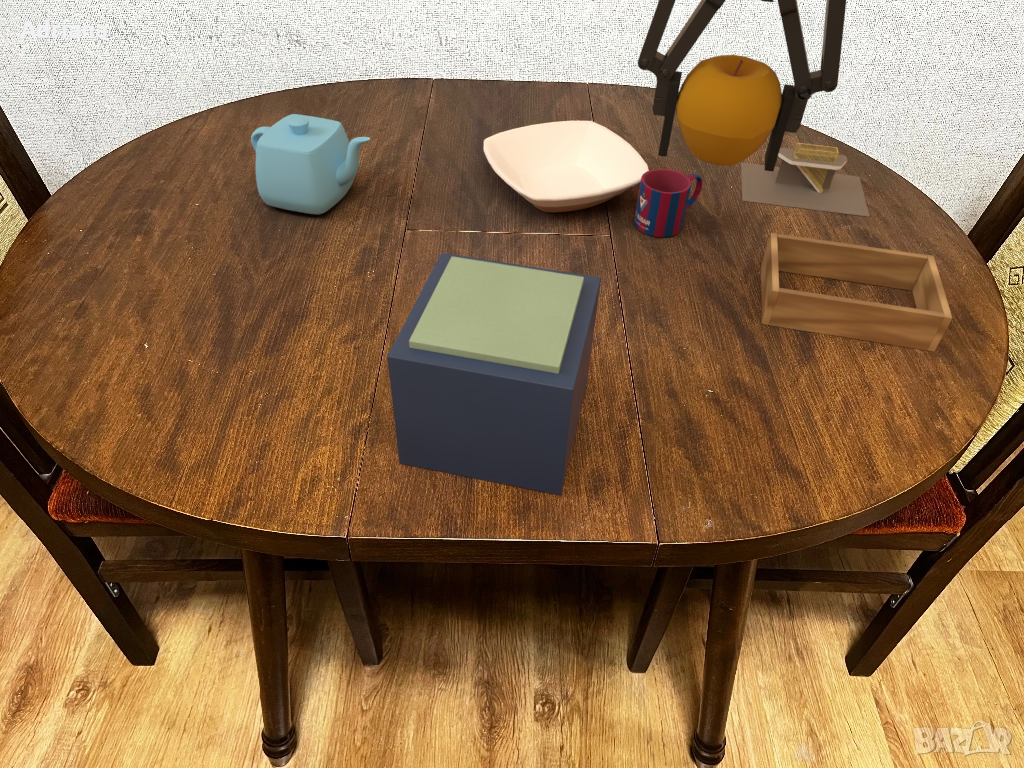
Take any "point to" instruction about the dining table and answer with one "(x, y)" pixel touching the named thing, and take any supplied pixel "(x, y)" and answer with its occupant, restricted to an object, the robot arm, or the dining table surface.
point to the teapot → (305, 163)
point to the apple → (728, 108)
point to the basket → (851, 314)
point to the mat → (500, 314)
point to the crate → (490, 403)
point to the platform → (805, 182)
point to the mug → (664, 201)
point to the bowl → (565, 164)
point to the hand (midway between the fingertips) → (715, 156)
